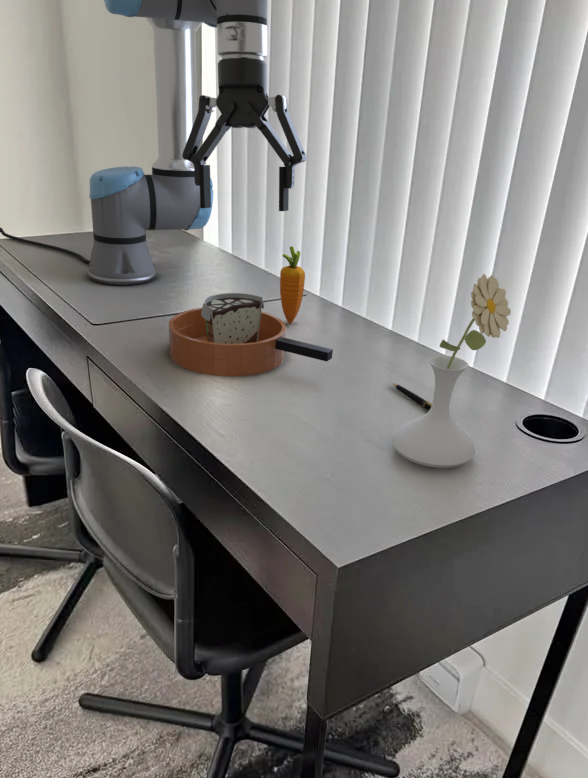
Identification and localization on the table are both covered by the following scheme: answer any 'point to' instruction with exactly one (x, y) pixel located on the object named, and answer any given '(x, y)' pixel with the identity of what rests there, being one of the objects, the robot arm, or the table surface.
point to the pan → (224, 347)
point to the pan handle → (304, 349)
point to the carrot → (291, 286)
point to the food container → (232, 318)
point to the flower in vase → (436, 428)
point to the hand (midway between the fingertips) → (244, 209)
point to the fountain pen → (414, 397)
